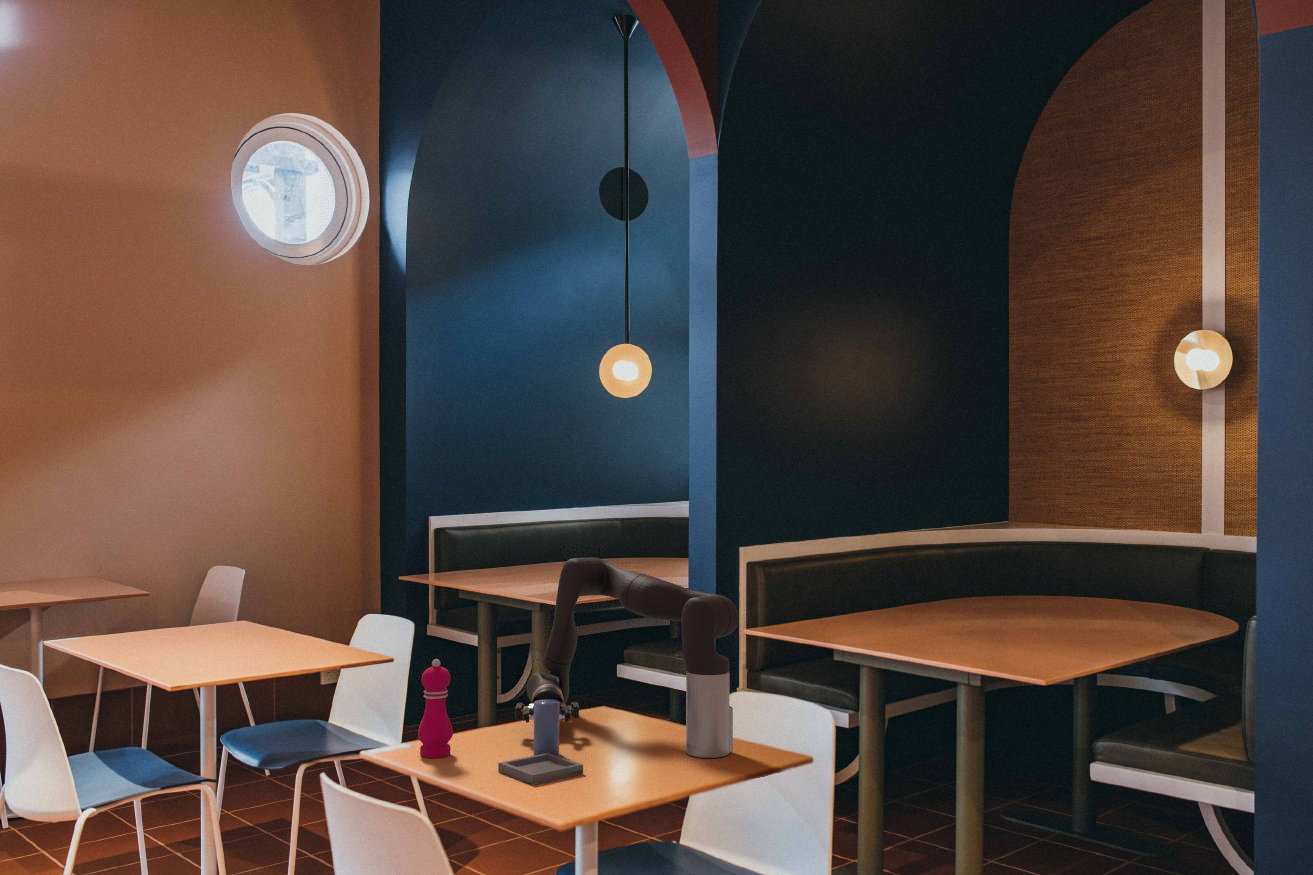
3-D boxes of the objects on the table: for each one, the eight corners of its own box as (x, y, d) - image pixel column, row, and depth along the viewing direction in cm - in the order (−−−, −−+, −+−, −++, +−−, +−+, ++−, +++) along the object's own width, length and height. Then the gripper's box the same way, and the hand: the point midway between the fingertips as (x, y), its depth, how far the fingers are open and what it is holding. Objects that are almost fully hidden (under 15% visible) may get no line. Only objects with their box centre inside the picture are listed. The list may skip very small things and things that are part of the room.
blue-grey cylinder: (549, 749, 232) (549, 698, 232) (564, 754, 228) (564, 702, 228) (528, 754, 228) (528, 701, 229) (543, 759, 224) (543, 705, 224)
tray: (548, 761, 222) (548, 752, 222) (583, 773, 213) (583, 764, 213) (498, 771, 214) (498, 762, 214) (532, 784, 205) (532, 775, 205)
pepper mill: (459, 752, 229) (460, 657, 230) (438, 760, 223) (440, 662, 224) (431, 748, 232) (432, 655, 233) (410, 756, 226) (411, 660, 227)
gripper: (517, 686, 252) (514, 700, 236) (578, 685, 253) (579, 699, 237) (516, 719, 252) (514, 735, 235) (578, 717, 253) (579, 734, 237)
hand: (547, 717), depth 236 cm, fingers open, 8 cm apart
